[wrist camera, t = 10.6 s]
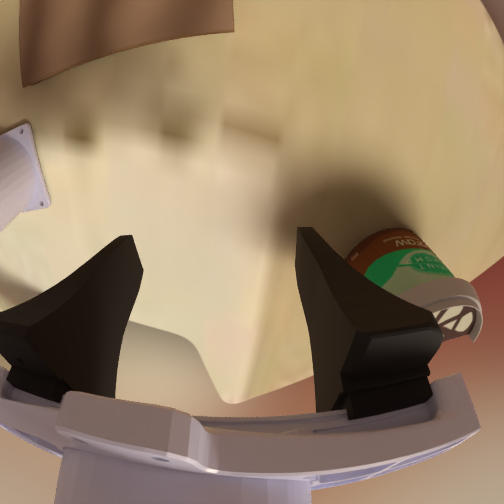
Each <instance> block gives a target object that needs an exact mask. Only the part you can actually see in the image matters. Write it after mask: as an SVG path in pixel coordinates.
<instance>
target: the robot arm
mask: <svg viewBox="0 0 504 504" xmlns="http://www.w3.org/2000/svg"><path fill="white" fill-rule="evenodd" d="M22 129H23V132H22ZM42 202H43V203H42ZM50 205H51V200H50V197H49V194H48V190H47V187H46V184H45V181H44V178H43V174H42V171H41V167H40V163H39V160H38V156H37V152H36V148H35V143H34V139H33V135H32V130H31V126H30V124H29V123H25V124H23V125H21V126H19V127H17V128H14V129H12V130H10V131H8V132H6V133H4V134H2V135H0V233H1V232H2V231H3V230H4V229H5V228H6V227H7V226H8V225H9V224H10V223H11V222H12V221H13V220H14V219H15V218H16V217H17V216H18V215H19V214H20V213H21V212H27V211H32V210H37V209H43V208H48V207H49V206H50ZM295 270H296V278H297V286H298V290H299V294H300V298H301V302H302V306H303V310H304V314H305V318H306V322H307V326H308V331H309V336H310V343H311V352H312V361H313V371H314V384H315V397H316V398H315V399H316V413H311V414H300V415H287V416H273V417H207V416H191V415H190V414H188V413H185V412H182V411H179V410H176V409H174V408H170V407H165V406H160V405H155V404H147V403H140V402H133V401H126V400H120V399H115V389H116V377H117V368H118V361H119V354H120V349H121V344H122V339H123V335H124V331H125V328H126V325H127V322H128V319H129V317H130V314H131V311H132V308H133V306H134V303H135V300H136V297H137V295H138V292H139V289H140V285H141V280H142V276H143V271H144V270H143V267H142V264H141V261H140V258H139V255H138V252H137V249H136V246H135V243H134V239H133V236H132V235H123V236H119V237H118V238H116V239H115V240H113V241H112V242H111V243H109V244H108V245H107V246H105V247H104V248H103V249H102V250H101V251H99V252H98V253H97V254H96V255H94V256H93V257H92V258H91V259H90V260H88V261H87V262H86V263H85V264H83V265H82V266H81V267H79V268H78V269H77V270H76V271H74V272H73V273H72V274H70V275H69V276H68V277H66V278H65V279H63V280H62V281H61V282H59V283H58V284H56V285H55V286H53V287H51V288H50V289H48V290H46V291H45V292H43V293H41V294H40V295H38V296H36V297H34V298H32V299H30V300H28V301H26V302H24V303H22V304H20V305H18V306H15V307H13V308H10V309H8V310H5V311H3V312H0V354H1V355H2V356H3V357H4V358H5V359H6V360H7V362H8V363H9V364H11V366H12V367H11V369H10V371H8V370H7V369H6V368H4V367H1V366H0V426H1V427H2V428H4V429H5V430H7V431H8V432H10V433H12V434H14V435H15V436H17V437H19V438H21V439H23V440H25V441H27V442H29V443H31V444H33V445H35V446H37V447H39V448H41V449H43V450H45V451H47V452H49V453H52V454H54V455H56V456H58V457H61V458H62V462H61V467H60V472H59V477H58V482H57V488H56V495H55V501H54V504H312V500H311V490H316V489H322V488H328V487H334V486H339V485H344V484H348V483H353V482H357V481H361V480H365V479H369V478H373V477H376V476H380V475H383V474H386V473H390V472H393V471H396V470H399V469H402V468H405V467H408V466H411V465H414V464H416V463H419V462H422V461H424V460H427V459H429V458H432V457H435V456H437V455H439V454H442V453H444V452H446V451H448V450H450V449H451V448H453V447H455V446H456V445H458V444H460V443H461V442H463V441H464V440H466V439H468V438H469V437H471V436H472V435H474V434H475V433H477V432H478V431H479V430H480V429H481V427H480V424H479V420H478V418H477V414H476V412H475V409H474V406H473V403H472V400H471V397H470V395H469V392H468V389H467V387H466V384H465V382H464V379H463V377H462V374H461V373H456V374H453V375H450V376H447V377H443V378H440V379H437V380H435V381H433V382H432V383H431V384H429V381H428V378H427V376H429V375H430V370H429V368H428V365H427V364H428V363H429V362H430V360H431V359H432V357H433V356H434V355H435V353H436V352H437V350H438V349H439V347H440V345H441V343H442V340H443V333H442V331H441V329H440V326H439V324H438V322H437V321H436V319H435V317H434V315H433V313H432V312H431V311H429V310H426V309H424V308H422V307H419V306H417V305H414V304H412V303H409V302H407V301H405V300H403V299H401V298H399V297H397V296H395V295H394V294H392V293H390V292H388V291H386V290H385V289H383V288H381V287H380V286H378V285H377V284H375V283H373V282H372V281H371V280H369V279H368V278H366V277H365V276H364V275H362V274H361V273H359V272H358V271H357V270H356V269H354V268H353V267H352V266H351V265H350V264H348V263H347V262H346V261H345V260H344V259H343V258H342V257H341V256H339V255H338V254H337V253H336V252H335V251H334V250H333V249H332V248H331V247H330V246H329V245H328V244H327V243H326V242H325V240H324V239H323V238H322V237H321V236H320V235H319V234H318V233H317V232H316V231H315V230H314V229H313V228H312V227H297V243H296V259H295Z"/></svg>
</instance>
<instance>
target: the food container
mask: <svg viewBox="0 0 504 504" xmlns="http://www.w3.org/2000/svg"><path fill="white" fill-rule="evenodd" d="M345 261H346V262H347V263H348V264H350V265H351V266H352V267H353V268H354V269H356V270H357V271H358V272H359V273H361V274H362V275H364V276H365V277H366V278H368V279H369V280H371V281H372V282H373V283H375V284H377V285H378V286H380V287H381V288H383V289H385V290H386V291H388V292H390V293H392V294H394V295H395V296H397V297H399V298H401V299H403V300H405V301H407V302H409V303H412V304H414V305H417V306H419V307H422V308H424V309H426V310H429V311H431V312H432V313H433V315H434V317H435V319H436V321H437V322H438V324H439V326H440V329H441V331H442V333H443V340H442V342H444V341H446V340H449V339H453V338H456V337H460V336H463V335H467V334H468V335H469V337H470V338H471V340H472V342H474V341H475V339H476V338H477V336H478V334H479V332H480V330H481V327H482V323H483V317H482V310H481V305H480V302H479V299H478V296H477V294H476V291H475V290H474V288H473V286H472V285H471V284H470V283H469V282H468V281H465V280H463V279H459V278H455V277H454V275H453V274H452V273H451V272H450V271H449V270H448V268H447V267H446V266H445V265H444V264H443V263H442V261H441V260H440V259H439V258H438V257H437V256H436V255H435V254H434V253H433V251H432V250H431V249H430V248H429V247H428V246H427V245H426V244H425V243H424V242H423V241H422V240H421V239H420V238H419V237H418V236H417V235H416V234H414V233H413V232H412V231H409V230H406V229H402V228H392V229H386V230H382V231H379V232H377V233H375V234H373V235H371V236H369V237H367V238H366V239H364V240H363V241H362V242H360V243H359V244H358V245H357V246H356V247H355V248H354V249H353V250H352V251H351V253H350V254H349V255H348V257H347V258H346V260H345Z"/></svg>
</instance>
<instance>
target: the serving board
mask: <svg viewBox="0 0 504 504" xmlns="http://www.w3.org/2000/svg"><path fill="white" fill-rule="evenodd" d="M228 32H234V14H233V0H20V16H19V44H20V63H21V75H22V84H23V87H27V86H31V85H34V84H36V83H39V82H41V81H43V80H45V79H47V78H49V77H51V76H54V75H56V74H58V73H61V72H63V71H65V70H68V69H70V68H73V67H76V66H78V65H81V64H83V63H86V62H89V61H92V60H95V59H98V58H101V57H104V56H107V55H110V54H114V53H117V52H121V51H124V50H128V49H132V48H136V47H140V46H144V45H148V44H153V43H157V42H162V41H167V40H173V39H179V38H185V37H192V36H199V35H207V34H217V33H228Z"/></svg>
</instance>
